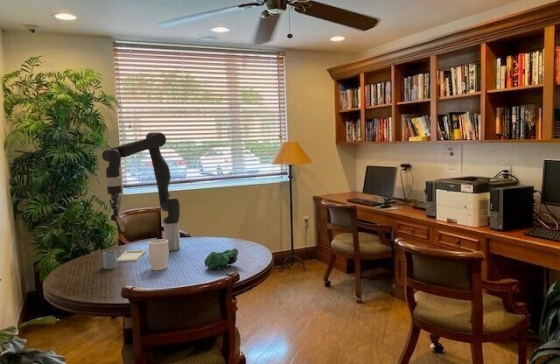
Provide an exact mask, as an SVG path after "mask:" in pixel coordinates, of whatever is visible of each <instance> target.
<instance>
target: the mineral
mask: <svg viewBox="0 0 560 364" xmlns="http://www.w3.org/2000/svg"><path fill="white" fill-rule="evenodd" d="M238 255H239V250H238V248H236V247H234V248H233V249H227V250H224V251H222V252H216V251H212V252H210V253H209V254H208V255H207V256H206V257H205V260H204V266H205V267H207V268H209V269H213V270H219V269H218V268H222V269H224V268H223V267H226V266H227V265H228V264H231V265H233V264H235V263H237V261H238ZM227 267H228V266H227ZM227 267H226V268H227Z"/></svg>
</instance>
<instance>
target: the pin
mask: <svg viewBox="0 0 560 364" xmlns="http://www.w3.org/2000/svg"><path fill="white" fill-rule="evenodd" d="M114 207H115V206H114ZM112 210H114V209H112ZM119 212H120V210H119V211H118V216H115V219H116V221H117V223H118V226H119V228H120V230H121V233H124V232H125V231H126V230H127V229H126V226H125V224H124V221H123V219H122V217H121V215H120V214H121V213H120V214H119Z"/></svg>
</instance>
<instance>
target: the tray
mask: <svg viewBox="0 0 560 364" xmlns="http://www.w3.org/2000/svg"><path fill="white" fill-rule="evenodd" d="M145 254H147V251H146V249H135V250H132V249H131V250H125V251H124V252H123V253H122V254H121V255H120V256H119V257H117V263H131V262H132V263H133V262H138V261H139V260H140V258H142V257H144V255H145Z"/></svg>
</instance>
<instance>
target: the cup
mask: <svg viewBox="0 0 560 364" xmlns="http://www.w3.org/2000/svg"><path fill="white" fill-rule="evenodd" d="M117 259H118V252H117V251H116V250H108V251H103V253H102V263H103V264H102V265H103V269H105V270H109V269H110V270H111V269H115V268H116V269H117V267H118V262H117Z"/></svg>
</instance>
